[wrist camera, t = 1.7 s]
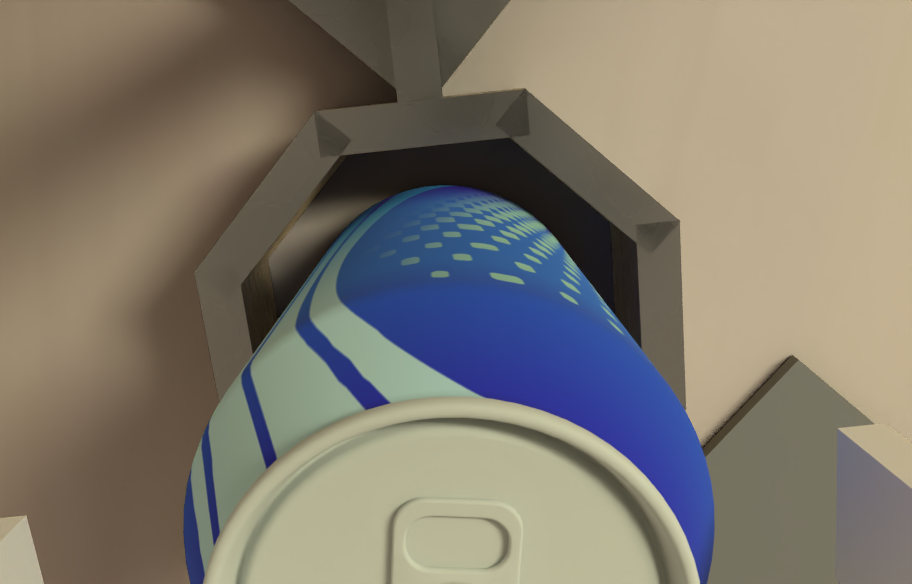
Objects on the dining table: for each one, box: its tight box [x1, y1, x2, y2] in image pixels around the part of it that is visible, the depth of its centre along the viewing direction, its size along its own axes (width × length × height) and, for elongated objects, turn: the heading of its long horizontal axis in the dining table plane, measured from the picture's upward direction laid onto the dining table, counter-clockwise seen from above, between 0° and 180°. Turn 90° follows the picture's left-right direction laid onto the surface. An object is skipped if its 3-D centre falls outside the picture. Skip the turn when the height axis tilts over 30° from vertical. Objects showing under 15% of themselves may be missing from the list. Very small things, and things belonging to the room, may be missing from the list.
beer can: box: [184, 185, 715, 584], centre depth 18 cm, size 8×8×16 cm
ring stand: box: [194, 0, 686, 410], centre depth 15 cm, size 18×18×20 cm
